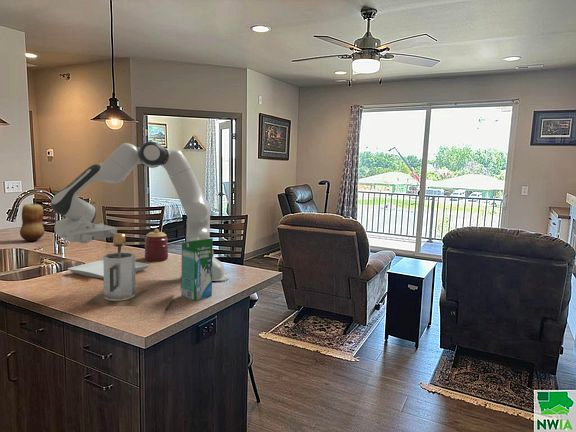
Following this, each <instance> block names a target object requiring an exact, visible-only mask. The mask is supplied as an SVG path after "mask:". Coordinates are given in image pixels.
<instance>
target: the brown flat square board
mask: <svg viewBox="0 0 576 432" xmlns="http://www.w3.org/2000/svg"><path fill="white" fill-rule="evenodd" d="M152 291H153V289H147V288H146V289H144V288H143V289H142V288H140V289H139V288H135V297H134V298H132V299H130V300H126V301H119V302H112V301H107V300H105V299H104V288H103V289H102V290H100V291H99V292H98V293H96V294H95V295H94V296H93V297H92V298H90V299H89V300H87V301H86V302H85V303H83V306H90V307H91V306H93V307H94V306H95V307H96V306H101V307H102V306H103V307H104V306H105V307H106V306H108V307H109V306H111V307H139V306H140V305H141V303H142V302H143V301H144V300H145V299H146V298H147V297H148V296H149V294H150V293H151V292H152Z"/></svg>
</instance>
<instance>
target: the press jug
mask: <svg viewBox="0 0 576 432" xmlns="http://www.w3.org/2000/svg"><path fill="white" fill-rule="evenodd" d="M102 258H103V259H102V260H103V266H104V279H103V289H104V299H105V300H107V301H112V302H119V301H126V300H130V299H132V298H134V297H135V289H136V272H135V262H136V254H134V253H132V252H121V258H118V252H112V253H111V252H110V253H107V254H104V256H103V257H102Z"/></svg>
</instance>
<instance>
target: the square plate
mask: <svg viewBox="0 0 576 432" xmlns="http://www.w3.org/2000/svg"><path fill="white" fill-rule="evenodd" d="M149 266H150V264H149V263H145V262H138V261H135V273H137V272H141V271H144V270H146V269H147V268H148V267H149ZM67 270H68V271H69V272H71V273H73V274H77V275H81V276H85V277H90V278H95V279H100V280H104V266H103V259H102V260H97V261H92V262H88V263H83V264H80V265H79V264H78V265H75V266H72V267H68V268H67Z"/></svg>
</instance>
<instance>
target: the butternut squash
mask: <svg viewBox="0 0 576 432" xmlns="http://www.w3.org/2000/svg"><path fill="white" fill-rule="evenodd" d="M43 207H44V206H42V204H39V203H38V204H37V203H26V204H24V205H23V207H22V210H21V221H22V224H21V228H20V230H19V234H20V237H21V239H23V240H24V241H26V242H36V241H39V239H41V238H42V237H43V236H44V235H45V227H44V225H43V219H44V208H43Z"/></svg>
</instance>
